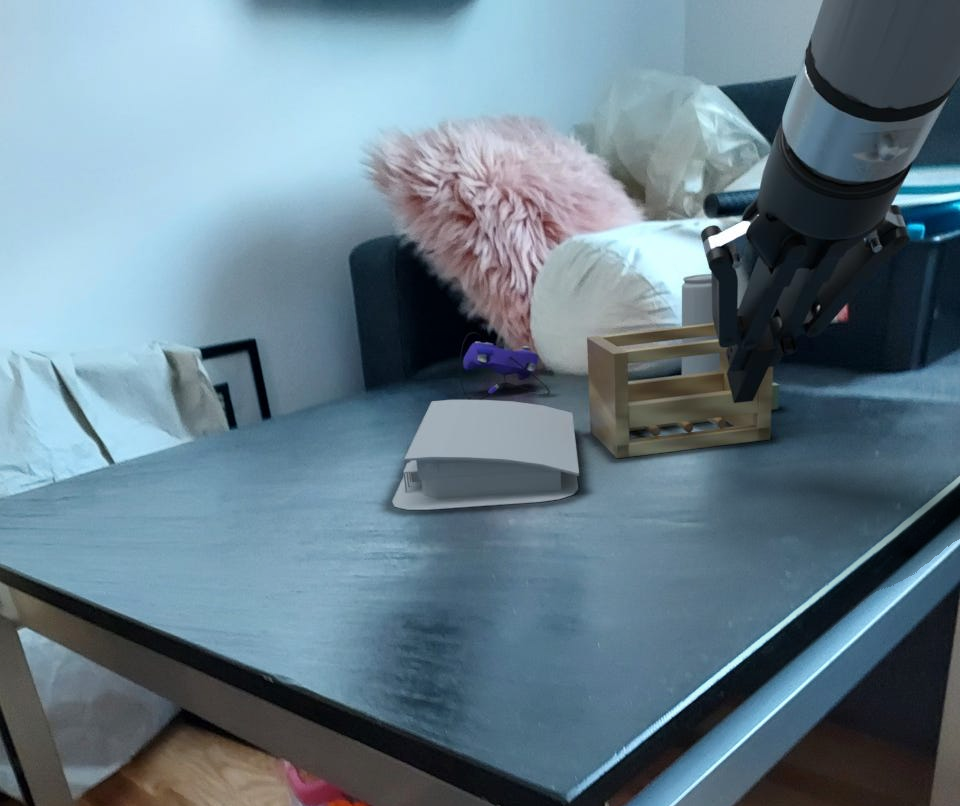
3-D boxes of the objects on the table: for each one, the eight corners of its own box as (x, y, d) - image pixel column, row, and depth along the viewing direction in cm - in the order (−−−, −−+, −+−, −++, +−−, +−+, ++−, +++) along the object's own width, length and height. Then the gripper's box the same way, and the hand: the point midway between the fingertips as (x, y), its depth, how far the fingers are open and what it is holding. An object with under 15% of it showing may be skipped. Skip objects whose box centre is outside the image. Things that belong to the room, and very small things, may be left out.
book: (387, 512, 76) (380, 464, 74) (420, 438, 96) (416, 400, 95) (580, 499, 74) (578, 450, 73) (572, 427, 95) (570, 387, 93)
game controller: (527, 346, 118) (558, 338, 109) (518, 413, 119) (547, 411, 110) (451, 331, 115) (476, 322, 105) (442, 400, 116) (466, 397, 107)
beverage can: (712, 387, 105) (714, 272, 100) (736, 395, 101) (739, 275, 96) (673, 394, 104) (673, 277, 99) (695, 402, 100) (697, 280, 94)
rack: (729, 415, 94) (732, 320, 90) (770, 439, 85) (774, 334, 81) (590, 432, 92) (586, 336, 89) (616, 458, 84) (613, 353, 80)
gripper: (746, 204, 50) (666, 438, 73) (985, 178, 51) (833, 419, 73) (716, 98, 53) (648, 356, 75) (945, 73, 53) (809, 337, 76)
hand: (739, 387), depth 74 cm, fingers closed
